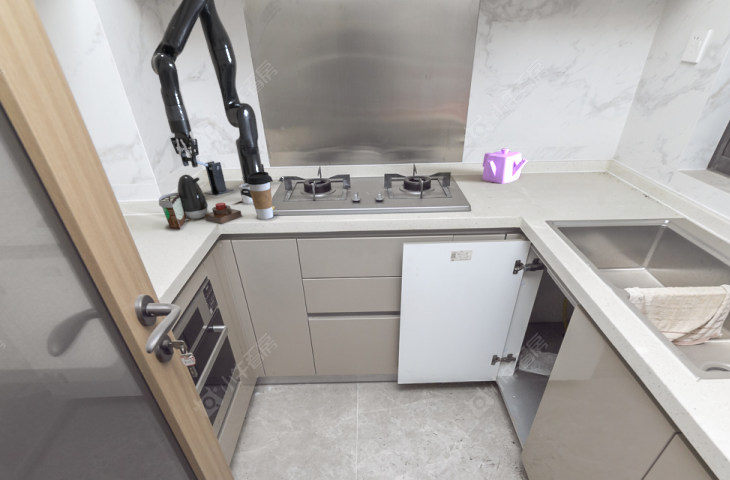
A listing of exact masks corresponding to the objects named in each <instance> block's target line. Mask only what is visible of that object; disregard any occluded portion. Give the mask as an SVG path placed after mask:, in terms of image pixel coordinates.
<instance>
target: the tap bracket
mask: <svg viewBox="0 0 730 480" xmlns="http://www.w3.org/2000/svg"><path fill="white" fill-rule="evenodd" d="M205 163H206V164H209V163H212V164H211V167H212V170H210V169H209V167H207V166H204V167H205V171H206V175H207V180H208V183H209V186H210V190H209V191H206V192H204V195H210V196H216V197H218V196H220V195H223V194H226V193H230V192H234V191H235V189H232V188H228V187H227V184H226V181H225V177H224V171H223V168H222V163H221V162H220V161H218V162H215V161H213V160H211V161H208V162H205Z"/></svg>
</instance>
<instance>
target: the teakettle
mask: <svg viewBox="0 0 730 480" xmlns="http://www.w3.org/2000/svg"><path fill="white" fill-rule="evenodd" d="M482 161H483V162H482V167H483V171H482V180H483V181H485V182H490V183H496V184H508V183H511V182H514V181H516V180H518V179H519V177H520V175H521V172H522V171H521V170H522V168H523V167H524V166H525V165H526V163H527V162H528V159H526V158H522V153H521V152H520V151H510V149H509V148H501V149H500V150H499V151H494V152H485V153H484V155H483V160H482Z"/></svg>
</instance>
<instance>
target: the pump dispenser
mask: <svg viewBox="0 0 730 480" xmlns="http://www.w3.org/2000/svg"><path fill="white" fill-rule="evenodd" d="M200 180H201V179H200V177H199V176H197V177H193V176H192V175H190V174H182V175H181V176H180V177H179V179H178V182H177V192H179V195H180V198H181V202H182V207H183V210H184V212H185V215H186V217H187V218H188V219H190V220H199V219H203V218H205V216H204V215H205V214H208V207H209V206H208V201H207V198H206V195H205V193H204V192H203V189H202V188H201V187H200V185H199V183H198V182H199V181H200Z"/></svg>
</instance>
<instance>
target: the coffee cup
mask: <svg viewBox="0 0 730 480" xmlns="http://www.w3.org/2000/svg"><path fill="white" fill-rule="evenodd" d="M268 174H269V172H268V173H267V171H264V172H254V173H252V174H250V175H248V176H247V184H249V188H250V193H251V197H252V200H253V203H254V204H253V206H254V210H255V213H256V217H257V219H260V220H268V219H271V218H273V217H274V210H273V198H272V197H273V196H272V187H271V180H270V178H269V176H270V174H269V175H268Z"/></svg>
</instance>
